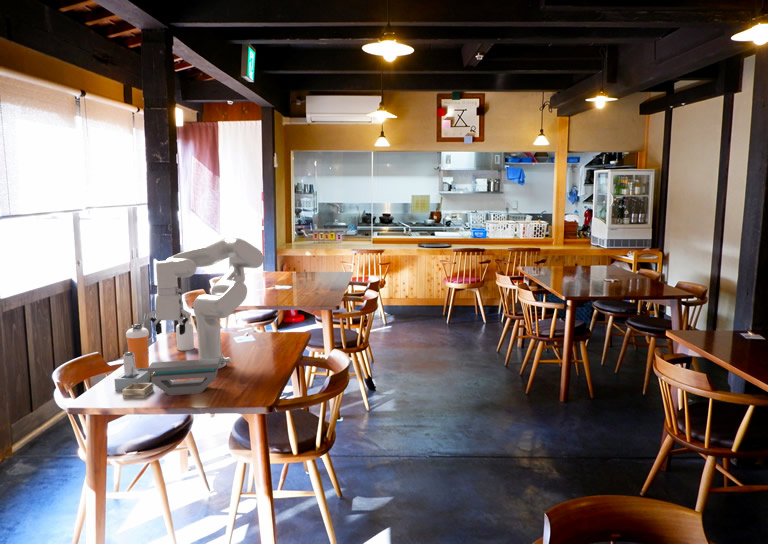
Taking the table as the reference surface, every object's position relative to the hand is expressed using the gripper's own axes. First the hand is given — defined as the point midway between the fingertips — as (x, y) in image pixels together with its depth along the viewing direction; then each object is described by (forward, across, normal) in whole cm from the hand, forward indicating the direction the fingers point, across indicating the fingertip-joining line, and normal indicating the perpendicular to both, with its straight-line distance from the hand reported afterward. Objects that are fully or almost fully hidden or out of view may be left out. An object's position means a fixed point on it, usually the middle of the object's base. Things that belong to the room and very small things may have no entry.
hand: (170, 333), depth 236 cm
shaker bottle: (+19, +19, -10) cm, 29 cm away
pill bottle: (+19, +16, -47) cm, 53 cm away
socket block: (+19, +13, +7) cm, 24 cm away
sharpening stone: (+19, -11, +13) cm, 26 cm away
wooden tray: (+19, +5, +18) cm, 27 cm away
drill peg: (+19, +12, +10) cm, 25 cm away
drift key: (+19, +6, +2) cm, 20 cm away
